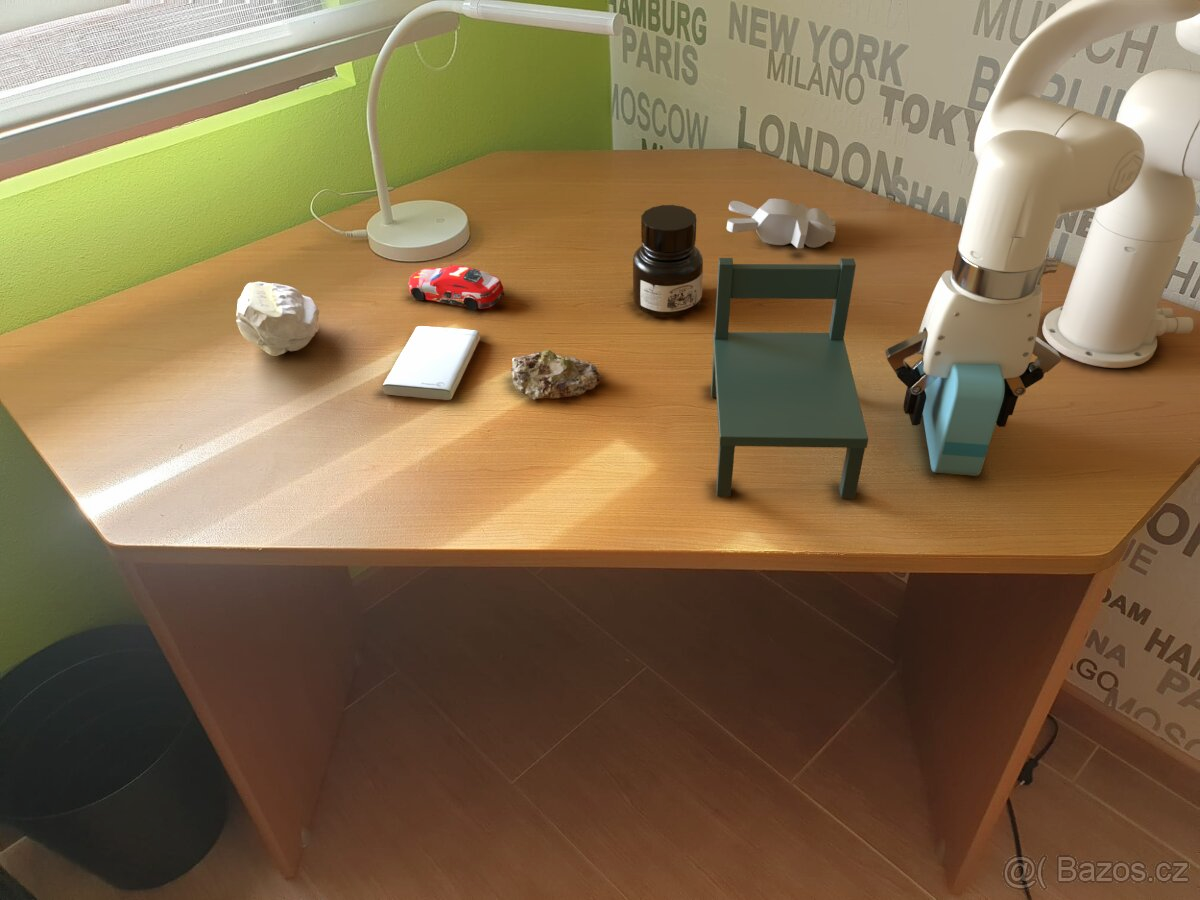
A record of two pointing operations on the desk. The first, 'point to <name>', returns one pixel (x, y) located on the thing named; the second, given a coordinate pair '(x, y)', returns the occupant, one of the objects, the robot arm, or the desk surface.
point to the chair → (786, 370)
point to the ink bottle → (667, 263)
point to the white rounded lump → (276, 317)
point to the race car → (457, 286)
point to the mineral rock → (552, 375)
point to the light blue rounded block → (962, 417)
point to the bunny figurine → (784, 223)
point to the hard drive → (432, 363)
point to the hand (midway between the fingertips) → (955, 417)
